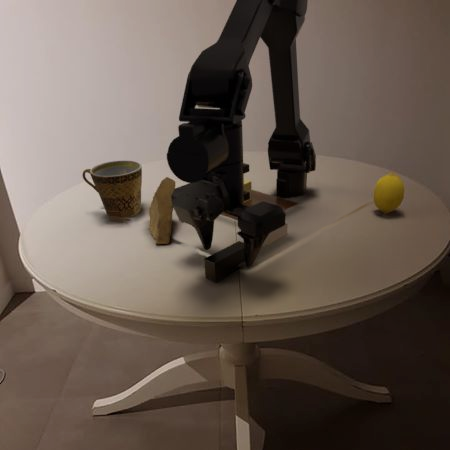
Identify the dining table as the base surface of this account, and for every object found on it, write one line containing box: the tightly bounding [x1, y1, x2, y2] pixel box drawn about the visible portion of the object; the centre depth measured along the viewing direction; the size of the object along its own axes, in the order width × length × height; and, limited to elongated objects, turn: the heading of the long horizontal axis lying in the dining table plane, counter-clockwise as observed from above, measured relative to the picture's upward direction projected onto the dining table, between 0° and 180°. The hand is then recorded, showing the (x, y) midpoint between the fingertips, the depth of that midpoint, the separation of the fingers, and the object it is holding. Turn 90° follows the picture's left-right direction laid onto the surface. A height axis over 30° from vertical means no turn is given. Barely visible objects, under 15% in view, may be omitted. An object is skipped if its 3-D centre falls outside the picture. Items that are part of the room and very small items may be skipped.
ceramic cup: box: [82, 160, 143, 223], centre depth 94 cm, size 13×10×10 cm
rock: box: [147, 176, 176, 245], centre depth 87 cm, size 11×9×10 cm
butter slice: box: [244, 179, 253, 203], centre depth 96 cm, size 5×2×4 cm, turn 135°
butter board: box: [220, 189, 299, 221], centre depth 98 cm, size 14×22×1 cm, turn 46°
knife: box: [203, 222, 289, 284], centre depth 78 cm, size 19×2×4 cm, turn 135°
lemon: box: [372, 172, 405, 215], centre depth 89 cm, size 6×6×8 cm
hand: (227, 257), depth 74 cm, fingers open, 9 cm apart
